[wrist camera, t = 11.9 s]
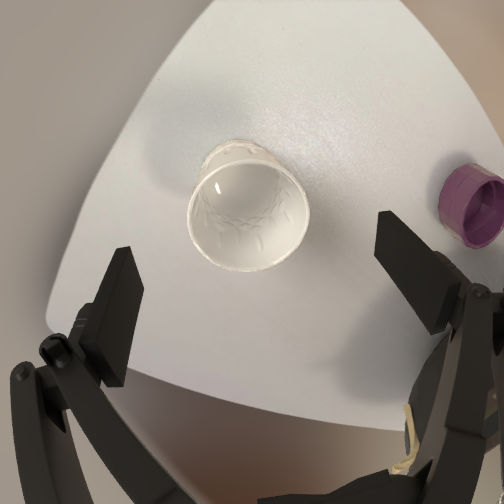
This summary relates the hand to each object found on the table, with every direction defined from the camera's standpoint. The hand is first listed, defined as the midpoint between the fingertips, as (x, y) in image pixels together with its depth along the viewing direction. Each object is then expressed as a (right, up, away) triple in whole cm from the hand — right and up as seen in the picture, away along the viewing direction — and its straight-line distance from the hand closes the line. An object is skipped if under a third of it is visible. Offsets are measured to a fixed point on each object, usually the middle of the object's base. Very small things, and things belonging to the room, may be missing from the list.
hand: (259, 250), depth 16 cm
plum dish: (+25, +7, +16) cm, 31 cm away
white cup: (-2, +7, +13) cm, 15 cm away
